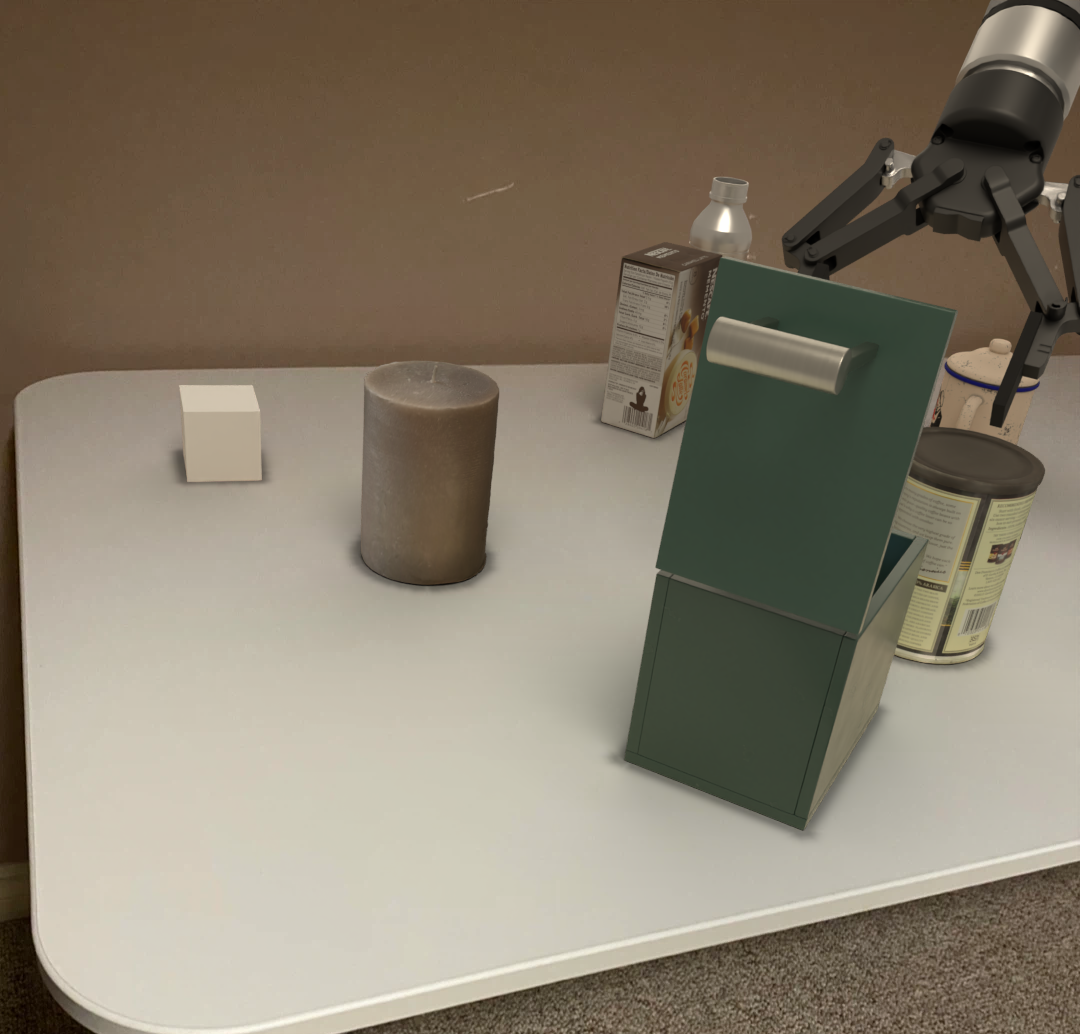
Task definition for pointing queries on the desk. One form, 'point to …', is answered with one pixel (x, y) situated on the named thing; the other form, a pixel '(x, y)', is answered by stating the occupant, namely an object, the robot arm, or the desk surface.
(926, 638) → the coffee can
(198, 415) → the cream cube
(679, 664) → the trash can
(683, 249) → the printed cardboard box
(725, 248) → the silver metal bottle
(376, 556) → the pillar candle
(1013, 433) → the teacup with lid
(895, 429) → the trash lid
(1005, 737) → the desk surface
